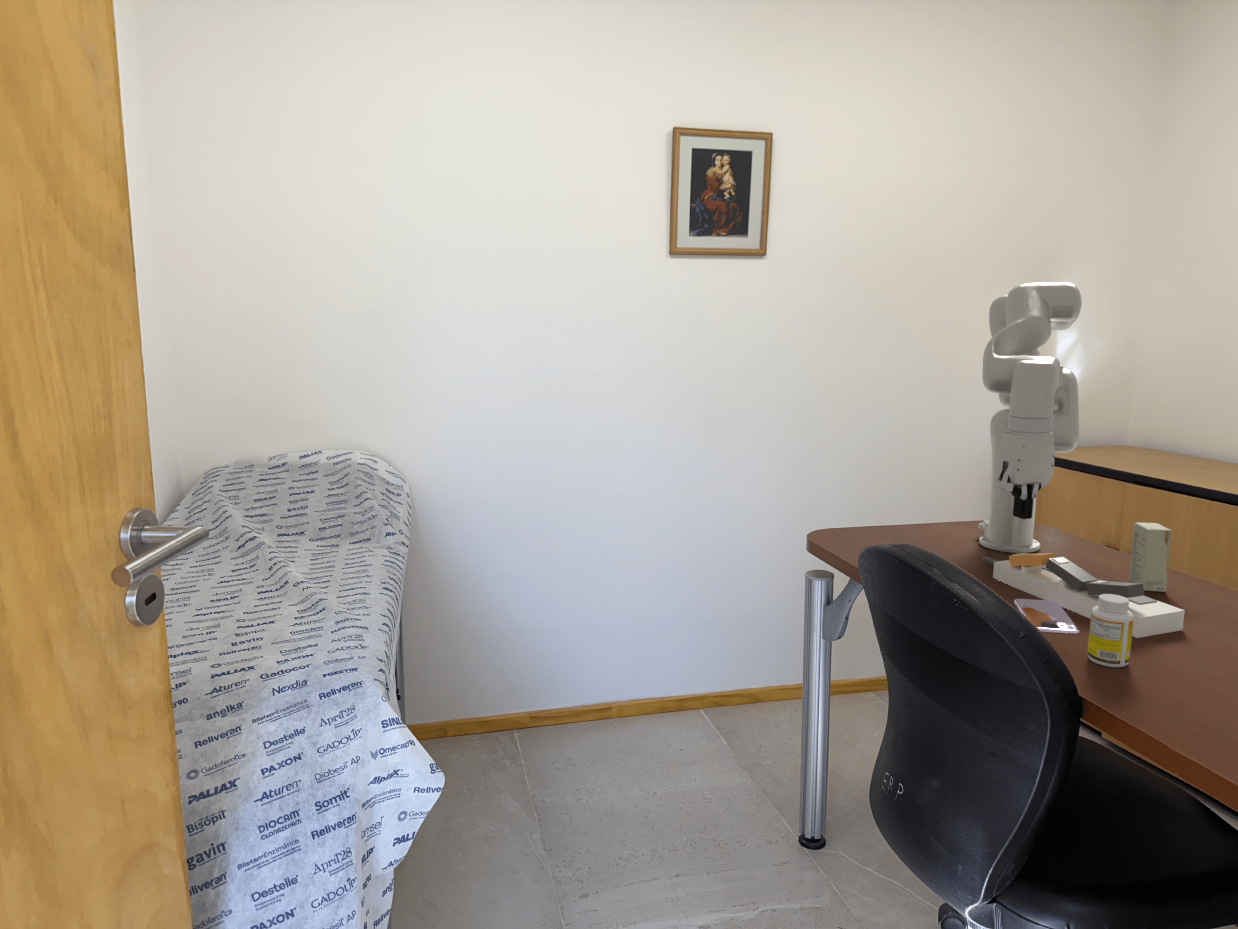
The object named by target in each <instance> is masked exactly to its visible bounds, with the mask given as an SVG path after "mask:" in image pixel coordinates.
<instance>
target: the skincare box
mask: <svg viewBox="0 0 1238 929" xmlns="http://www.w3.org/2000/svg"><path fill="white" fill-rule="evenodd" d="M1132 533H1133V536H1132V546H1131V548H1132V549H1131V558H1130V568H1129V579H1128V581H1130V582H1129V583H1143V588H1144V592H1162V593H1163V592H1164V593H1166V591H1167V583H1168V573H1169V563H1170V554H1171V543H1172V541H1171V540H1172V534H1173V532H1172V529H1171V528H1168V527H1166V526H1164V525H1162V524H1160V523H1158V522H1139V521H1137V522H1134V525H1133V532H1132Z"/></svg>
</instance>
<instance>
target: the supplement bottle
mask: <svg viewBox="0 0 1238 929" xmlns="http://www.w3.org/2000/svg"><path fill="white" fill-rule="evenodd" d="M1128 608H1129V600H1128V599H1127V598H1125V597H1122V596H1119V595H1114V594H1101V595H1099V598H1098V606H1095V607H1093V608H1092V610H1091V619H1090V620H1089V621H1090V623H1089V632H1088V642H1087V643H1088V644H1087V657H1088V659H1089V660H1090V661H1091V662H1093V663H1095V664H1097V665H1101V666H1104V667H1109V668H1124V667H1126V666H1128V665H1129V663H1130V659H1131V658H1130V657H1131V648H1132V638H1133V636H1132V629H1133V620H1134V616H1133V614H1132V612H1130V611H1129V610H1128Z"/></svg>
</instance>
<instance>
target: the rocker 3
mask: <svg viewBox="0 0 1238 929" xmlns="http://www.w3.org/2000/svg"><path fill="white" fill-rule="evenodd" d="M1086 584H1087V592H1088V595H1098V596H1099V595H1101V594H1114V595H1119V596H1122V597H1125V598H1131V597H1138V596H1145V591H1144V588H1143V583H1131V582H1127V581H1126V582H1125V581H1123V582H1122V581H1109V580H1101V581H1096V582H1091V583H1086Z"/></svg>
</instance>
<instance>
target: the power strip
mask: <svg viewBox="0 0 1238 929" xmlns="http://www.w3.org/2000/svg"><path fill="white" fill-rule="evenodd" d="M981 560H982V562H983V563H986V564H989V565H991V566H993V570H992V571H993V574H992V579H993V578H995V579H997V580H996V581H998V582H1000V581H1001V582H1000V583H1002V582H1003V584H1004V585H1007V584H1008V586H1010V587H1012V588H1015V589H1017V590H1019V591H1022V592H1024V593H1027V594H1029V595H1031V596H1033V597H1034V596H1035V597H1037V598H1039V599H1040V600H1048V601H1054V602H1057V603H1058V604H1059V605H1060V606H1061V607H1062V609H1065V608H1066V610H1068V611H1070V610H1071V612H1073V613H1075V612H1076V614H1077V613H1078V614H1077V615H1080V616H1082V617H1085V618H1088V619H1090V620H1091V610H1092V608H1093V607H1095V606H1098V598H1099V596H1098V595H1088V592H1087V590H1085V591H1078V590H1077V589H1075V588H1074V587H1072V586H1071V585H1069V584H1068V583H1067V582H1065V581H1064V580H1062V579H1061V578H1060V577H1058V576H1057V575H1055V574H1054V573H1052V572H1051V571H1050V570H1048V569H1047V568H1046V565H1044V566H1010V560H1009V559H1008V560H1007V559H1005V560H996V559H993V558H991V557H987V556H983V557H982V559H981ZM995 579H994V580H995ZM1098 581H1102V580H1101V579H1098ZM1127 599H1128V600H1129V608H1128V610H1129V611H1130V612H1132V614H1133V616H1134V620H1133V629H1132V638H1135V639H1139V638H1140V639H1141V638H1145V637H1151V636H1157V635H1163V634H1168V633H1173V632H1179V631H1180V632H1181V631H1183V629H1184V620H1185V612H1186V611H1185V609H1182V608H1181V607H1180V608H1179V607H1176V606H1175V605H1171V604H1168V603H1165V602H1162V601H1159V600H1156V599H1154V598H1151V597H1149V596H1146V595H1144V596H1138V597H1131V598H1127Z"/></svg>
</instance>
